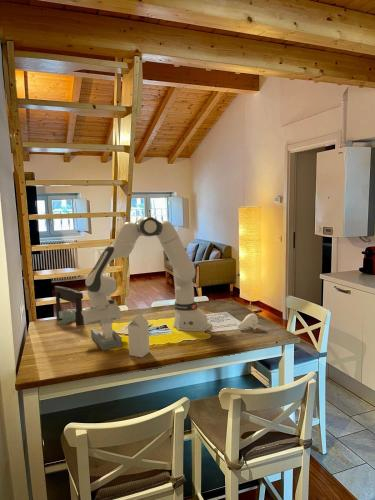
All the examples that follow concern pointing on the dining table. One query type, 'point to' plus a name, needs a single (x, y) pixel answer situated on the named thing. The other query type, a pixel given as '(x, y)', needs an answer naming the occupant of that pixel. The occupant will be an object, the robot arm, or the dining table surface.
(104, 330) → the switch knob
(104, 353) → the dining table surface
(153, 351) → the dining table surface
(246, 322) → the white rounded lump
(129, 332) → the milk carton
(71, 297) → the stool
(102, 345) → the switch panel
